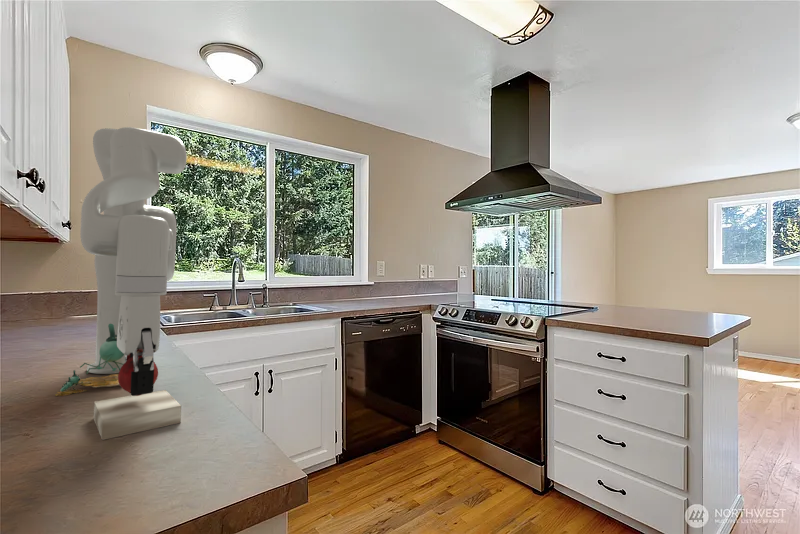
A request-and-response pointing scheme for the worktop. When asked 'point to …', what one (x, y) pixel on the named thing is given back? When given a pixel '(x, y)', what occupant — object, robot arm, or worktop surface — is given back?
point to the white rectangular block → (135, 413)
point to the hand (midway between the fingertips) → (138, 388)
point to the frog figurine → (108, 354)
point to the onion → (125, 374)
